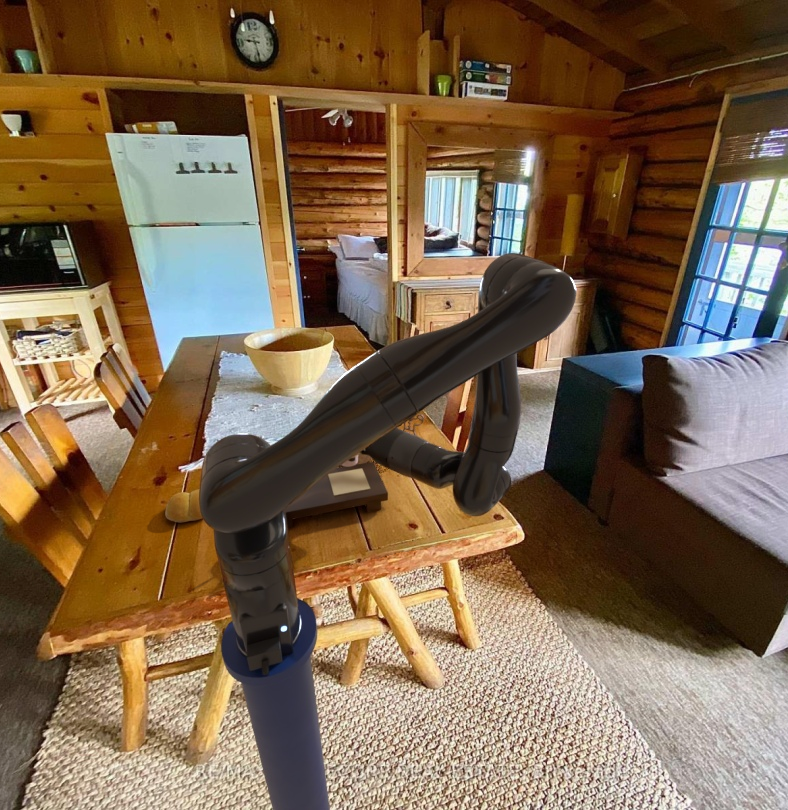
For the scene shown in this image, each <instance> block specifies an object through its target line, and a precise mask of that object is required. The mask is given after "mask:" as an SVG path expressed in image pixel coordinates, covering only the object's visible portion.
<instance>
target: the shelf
mask: <svg viewBox="0 0 788 810" xmlns="http://www.w3.org/2000/svg"><path fill="white" fill-rule="evenodd" d="M386 501H389V492H388V489H387V488H386V485H385V484H384V481H383V479H382V476H381V475H380V473H379V471H378V468H377V466H376V463H375V461H369V462H367V463H362V464H356V465H354V466H350V467H345V466H339V467H337V468H336V469H334V470H333V471H332V472H330V473H329V474H328V475H326V476H325V477H324V478H322V479H321V480H320V481H318V482H317V483H316V484H315V485H313V486H312V487H311V488H310V489H309V490H307V491H306V492H305V493H304V494H303V495H301V496H300V497H299V498H298V499H296V500H295V501H294V502H293V503H292V504H290V505H289V506H288V507H287V508H286V516H287V523H288V529H289V528H290V529H291V528H294V523H293V520H295V519H300V518H305V517H311V516H315V515H320V514H326V513H330V512H335V511H341V510H346V509H351V508H355V507H361V506H364V508H365V510H366V512H367V513H370V512H374V511H375V512H376V511H380V510H382V502H386Z"/></svg>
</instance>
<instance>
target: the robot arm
mask: <svg viewBox="0 0 788 810" xmlns="http://www.w3.org/2000/svg"><path fill="white" fill-rule="evenodd" d="M481 276H482V277H481V279H480V284H479V288H478V296H477V297H478V298H477V312H476V313H475V314H474V315H472V316H469V317H468V318H467V319H464V320H462V321H460V322H457V323H455V324H453V325H450V326H447V327H444V328H440V329H436V330H432V331H431V330H430V331H427V332H423V333H420V334H416V335H412V336H408V337H405V338H401V339H399V340H396V341H393V342H391V343H390V344H389V343H388V344H387V345H385V346H384V347H382V348H380V349H378V350H377V351H376V352H374V353H373V354H371V355H369V356H367V357H366V358H364V359H363V360H362V361H360V362H358V363H357V364H356V365H354V366H352V367H351V368H349V369H348V370H347V371H345V373H343V374H342V375H341V376H340V377H339V378H338V379H337V380H336V381H335V382H334V383H333V384H332V385H331V387H329V389H328V390H327V391H326V392H325V394H323V396H322V397H321V398H320V400H319V401H318V402H317V403H316V405H315V406H314V407H313V408H312V410H311V411H310V412H309V413H308V415H306V416H305V418H304V419H303V420H302V421H301V422H300V423H299V424H298V425H297V426H295V428H294V429H292V430H291V431H290V432H289V433H287V434H286V435H285V436H283V437H282V438H280V439H278V440H277V441H276V442H274V443H272V444H270V442H268V441H266V440H265V439H263V438H262V437H261V436H260V437H259V436H258V435H255V434H252V433H245V432H244V433H243V432H241V433H233V434H229V435H226V436H224V437H223V438H220V439H219V440H217V441H216V442H215V443H214V444H213V445H211V446H210V448H209V449H208V450H207V452H206V453H205V455H204V458H203V460H202V463H201V472H200V481H199V489H198V490H199V506H200V512H201V515H202V520H203V521H204V523H205V524H206V525H207V526H208V527H209V528H210V529H212V530H213V541H214V550H215V554H216V559H217V561H218V566H219V570H220V575H221V579H222V584H223V587H224V592H225V595H226V600H227V604H228V608H229V612H230V617H231V621H233V626H234V629H235V633H236V640H237V645H238V648H239V651H240V652H241V654H242V655H243V656H244V657H246V658H247V661H248V665H249V669H250V671H252V670H256V669H259V668H262V674H263V675H267V674H268V673H269V665H273V664H276V663H280V662H282V657H283V656H287V655H290V654H293V652H294V651H293V646H294V645H295V643H296V642H297V640H298V639H299V636H300V633H301V629H302V624H301V617H300V614H299V607H298V600H297V598H298V594H297V586H296V577H295V570H294V562H293V556H292V555H293V554H292V548H291V540H290V533H289V528H288V523H287V516H286V508H287V507H288V506H289V505H290V504H292V503H293V502H294V501H295V500H296V499H298V498H299V497H300V496H301V495H303V494H304V493H305V492H306V491H307V490H309V489H310V488H311V487H312V486H313V485H315V484H316V483H317V482H318V481H320V480H321V479H322V478H324V477H325V476H326V475H328V474H329V473H330V472H332V471H333V470H334V469H336V468H338V467H341V466H342V464H343V463H345V462H346V461H351V462H352V461H355V456H357V455H359V454H363V455H369V456H370V457H371V458H372V459H371V460H372V461H373V462H374V463H375V464H377V465H380V466H382V467H384V468H386V469H388V470H391V471H393V472H395V473H396V474H400V475H401V476H404V477H407V478H409V479H413V480H414V481H415V480H416V481H417V482H420V483H421V484H424V485H426V486H428V487H430V488H433V489H436V490H442V489H446V488H448V487H451V486H452V496H453V500H454V503H455V505H456V507H457V508H458V509H459V510H460V511H461V513H463V514H465V515H467V516H469V517H473V518H477V517H482V516H485V515H486V514H488V513H489V512H490V511H492V509H493V508H494V507H495V506H496V505H497V504H498V503H499V502H500V501H501V499H503V498H504V497H505V496H506V495H507V493H508V492H509V490H510V488H511V485H512V477H511V473H510V472H509V470H508V468H507V467H506V466H505V465H506V464H507V462H509V460H510V459H511V456H512V454H513V452H514V449H515V444H516V440H517V436H518V432H519V428H520V424H521V423H520V422H521V417H522V399H521V390H520V389H521V388H520V382H519V374H518V373H519V372H518V361H517V359H518V358H517V356H518V355H517V354H519V352H521V351H523V350H525V349H528V348H529V347H531V346H533V345H535V344H537V343H539V342H540V341H543V339H545V338H547V337H548V336H550V335H551V334H553V333H554V332H555V331H556V330H558V329H559V328H560V327H561V325H563V324H564V323H565V321H566V320H567V318H568V317H569V316H570V314H571V312H572V311H573V308H574V306H575V303H576V300H577V299H576V298H577V287H576V285H575V282H574V280H573V278H572V277H571V276H570V275H569V274H568V273H567V272H565V271H564V270H563V269H561V268H560V267H557V266H556V265H553V264H551V263H549V262H546V261H543V260H540V259H537V258H534V257H532V256H529V255H526V254H522V253H518V252H507V253H505V254H502V255H500V256H498V257H497V258H495V259H493V261H491V263H489V265H487V268H486V269H485V270H484V273H483V274H482V275H481ZM474 377H476V385H475V397H474V402H473V409H472V415H471V421H470V427H469V433H468V437H467V438H468V439H467V445H466V448H465V449H464V451H456V450H449V449H446V448H444V447H442V446H440V445H437V444H435V443H432V442H430V441H428V440H426V439H424V438H422V437H420V436H418V435H417V436H416V435H414V433H412V432H410V433H409V432H408V431H407V430H404V431H403V429H400V427H402V426H403V425H404V423H405V422H406V423H408V422H409V420H410V419H411V418H413V417H414V416H415V417H417V415H418V414H421V413H422V412H423V411H424V410H425V409H427V408H429V407H430V406H431V405H432V404H434V403H435V402H437V401H438V400H440V399H441V398H443V397H445V396H446V395H448V394H449V393H451V392H452V391H454V390H456V389H458V388H459V387H461V386H462V385H464V384H466V383H467V382H468V381H470V380H472V379H473V378H474ZM415 417H414V418H415ZM399 426H400V427H399Z"/></svg>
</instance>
